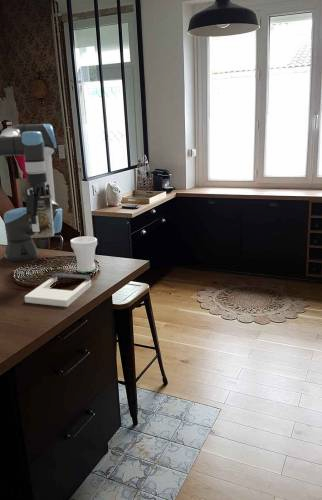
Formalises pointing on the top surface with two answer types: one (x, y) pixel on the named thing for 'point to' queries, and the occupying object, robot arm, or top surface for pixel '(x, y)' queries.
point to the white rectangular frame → (55, 294)
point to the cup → (84, 252)
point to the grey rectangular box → (44, 218)
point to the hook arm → (71, 275)
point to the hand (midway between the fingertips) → (42, 228)
